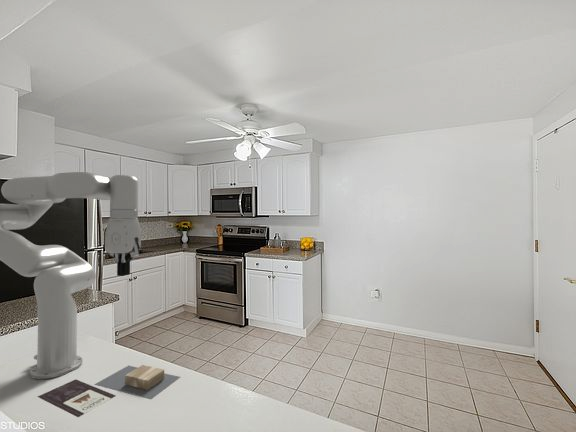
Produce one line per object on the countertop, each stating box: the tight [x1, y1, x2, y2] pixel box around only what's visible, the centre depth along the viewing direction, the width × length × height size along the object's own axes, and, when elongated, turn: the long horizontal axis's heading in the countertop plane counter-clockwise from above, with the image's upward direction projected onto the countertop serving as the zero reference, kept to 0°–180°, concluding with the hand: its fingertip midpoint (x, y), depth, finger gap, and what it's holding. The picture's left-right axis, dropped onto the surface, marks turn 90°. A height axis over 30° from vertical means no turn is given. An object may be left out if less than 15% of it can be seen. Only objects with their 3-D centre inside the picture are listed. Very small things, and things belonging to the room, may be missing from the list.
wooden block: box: [125, 364, 165, 390], centre depth 81 cm, size 3×6×8 cm
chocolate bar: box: [37, 379, 117, 418], centre depth 74 cm, size 9×1×18 cm
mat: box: [94, 364, 181, 400], centre depth 82 cm, size 20×11×1 cm, turn 71°
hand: (123, 275), depth 89 cm, fingers closed
